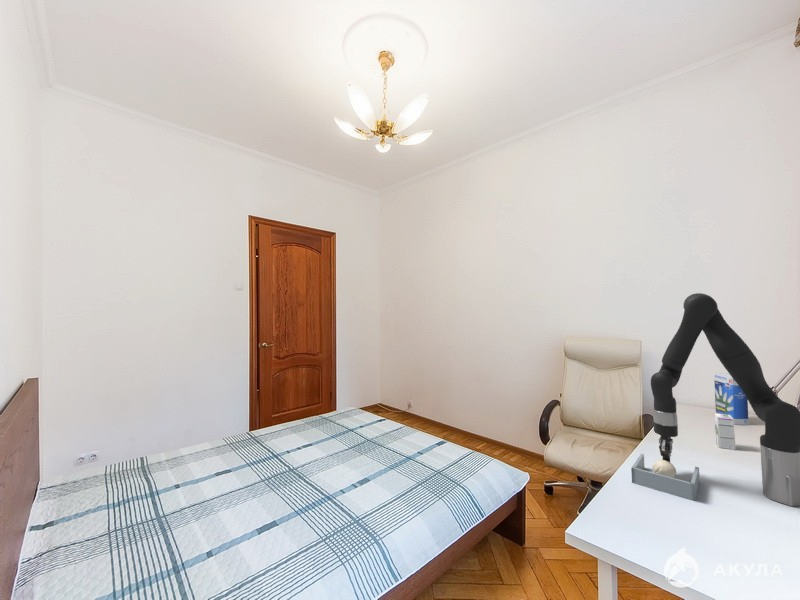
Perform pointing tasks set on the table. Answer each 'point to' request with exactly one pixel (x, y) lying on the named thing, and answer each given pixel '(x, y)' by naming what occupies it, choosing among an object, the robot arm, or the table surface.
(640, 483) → the grey u-shaped frame
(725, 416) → the syrup box
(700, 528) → the table surface
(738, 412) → the string lights box
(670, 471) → the cream rounded lump
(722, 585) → the table surface
